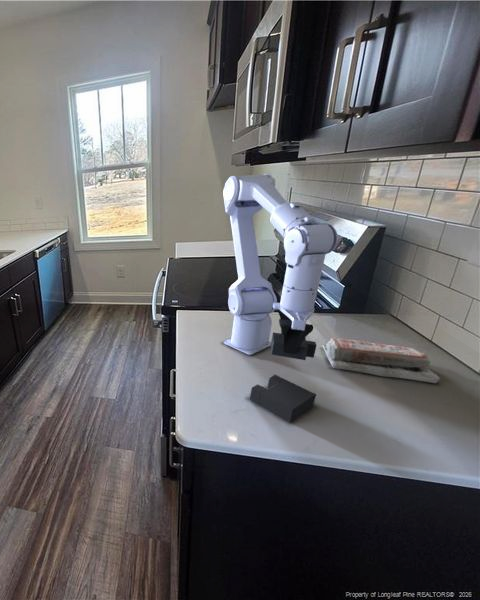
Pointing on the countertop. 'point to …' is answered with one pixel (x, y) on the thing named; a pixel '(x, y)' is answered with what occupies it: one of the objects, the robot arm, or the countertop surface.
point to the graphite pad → (304, 351)
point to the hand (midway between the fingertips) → (288, 346)
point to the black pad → (283, 398)
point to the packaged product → (379, 359)
